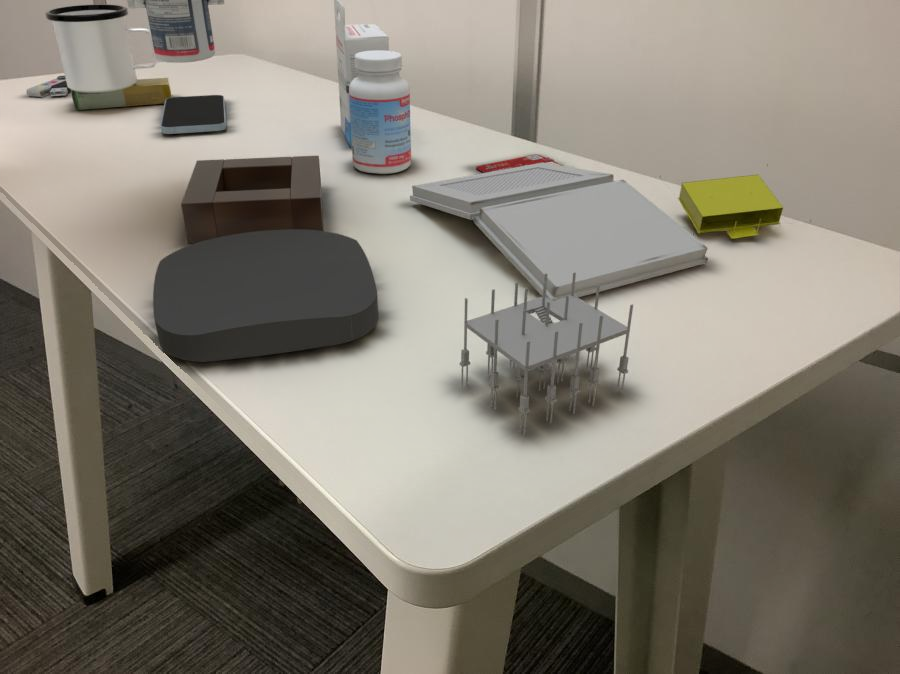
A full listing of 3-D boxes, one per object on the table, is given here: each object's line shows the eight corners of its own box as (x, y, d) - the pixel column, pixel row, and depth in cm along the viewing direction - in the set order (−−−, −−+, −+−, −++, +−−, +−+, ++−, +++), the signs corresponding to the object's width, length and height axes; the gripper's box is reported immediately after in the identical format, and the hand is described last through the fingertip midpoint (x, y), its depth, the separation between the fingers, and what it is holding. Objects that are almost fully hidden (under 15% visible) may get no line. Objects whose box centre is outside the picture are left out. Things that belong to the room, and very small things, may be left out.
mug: (54, 95, 98) (34, 16, 93) (74, 78, 106) (56, 5, 101) (155, 92, 99) (141, 14, 95) (167, 75, 107) (155, 2, 103)
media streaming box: (156, 375, 49) (147, 333, 48) (165, 273, 62) (158, 237, 60) (389, 343, 53) (387, 303, 51) (354, 252, 65) (352, 218, 63)
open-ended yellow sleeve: (659, 175, 72) (655, 202, 74) (694, 235, 65) (689, 263, 67) (767, 163, 72) (760, 190, 74) (813, 221, 66) (804, 249, 68)
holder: (187, 243, 67) (180, 203, 65) (202, 196, 76) (196, 160, 74) (323, 236, 68) (320, 196, 66) (321, 190, 78) (318, 155, 76)
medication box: (77, 104, 105) (74, 111, 102) (72, 83, 104) (69, 89, 101) (172, 97, 108) (173, 103, 105) (169, 76, 107) (169, 82, 104)
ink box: (394, 145, 90) (389, 5, 83) (350, 148, 89) (341, 6, 82) (380, 124, 97) (375, -6, 90) (339, 127, 96) (331, -5, 89)
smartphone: (224, 94, 106) (226, 123, 93) (225, 101, 106) (227, 131, 94) (165, 97, 104) (159, 128, 92) (166, 104, 105) (160, 135, 92)
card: (564, 168, 83) (537, 156, 87) (565, 164, 83) (537, 152, 87) (500, 182, 80) (474, 169, 84) (500, 178, 80) (474, 165, 83)
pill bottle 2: (398, 178, 81) (395, 63, 75) (343, 171, 82) (336, 58, 77) (419, 160, 86) (418, 51, 80) (367, 154, 87) (362, 46, 82)
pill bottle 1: (187, 49, 76) (170, -54, 72) (227, 55, 74) (212, -52, 69) (142, 59, 72) (122, -50, 68) (184, 66, 70) (165, -47, 66)
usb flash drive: (73, 74, 115) (75, 81, 115) (34, 76, 114) (36, 84, 114) (66, 89, 108) (68, 96, 108) (24, 91, 106) (26, 99, 107)
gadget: (707, 263, 63) (715, 220, 62) (551, 305, 57) (555, 259, 55) (543, 177, 81) (545, 141, 79) (409, 202, 74) (408, 164, 73)
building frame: (457, 384, 49) (458, 297, 46) (559, 347, 53) (566, 264, 50) (521, 437, 44) (527, 344, 41) (626, 392, 48) (639, 304, 45)
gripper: (292, -161, 62) (286, -34, 75) (0, -163, 56) (48, -26, 69) (307, -93, 60) (299, 24, 73) (9, -88, 55) (57, 37, 68)
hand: (175, 0), depth 71 cm, fingers closed on pill bottle 1, 5 cm apart
